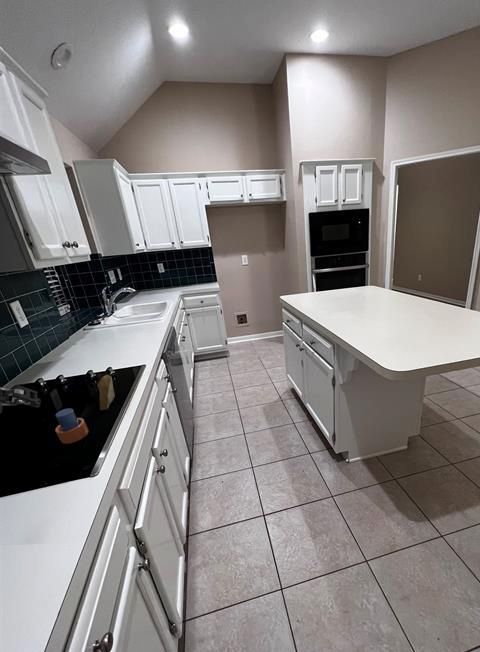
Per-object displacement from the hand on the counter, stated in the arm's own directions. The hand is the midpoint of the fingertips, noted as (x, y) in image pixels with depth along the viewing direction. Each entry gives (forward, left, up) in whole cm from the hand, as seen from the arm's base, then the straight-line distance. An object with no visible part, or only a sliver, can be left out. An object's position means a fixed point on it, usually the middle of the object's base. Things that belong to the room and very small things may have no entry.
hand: (19, 406), depth 76 cm
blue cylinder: (-9, +9, -18) cm, 22 cm away
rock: (-20, +24, -19) cm, 37 cm away
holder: (-9, +9, -19) cm, 23 cm away
